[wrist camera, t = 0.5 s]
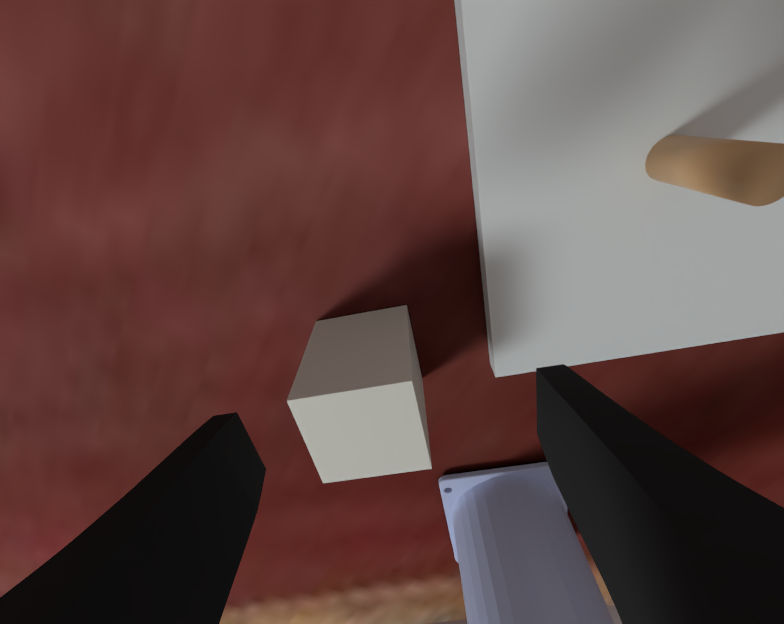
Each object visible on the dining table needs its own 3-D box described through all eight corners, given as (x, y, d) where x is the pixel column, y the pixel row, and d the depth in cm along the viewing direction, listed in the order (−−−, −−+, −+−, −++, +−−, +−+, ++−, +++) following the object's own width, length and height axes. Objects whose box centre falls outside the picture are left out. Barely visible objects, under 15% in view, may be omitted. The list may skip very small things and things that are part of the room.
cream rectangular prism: (422, 378, 20) (431, 468, 15) (340, 391, 21) (323, 483, 16) (406, 304, 18) (412, 380, 13) (316, 321, 19) (286, 400, 13)
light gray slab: (775, 317, 18) (911, 390, 14) (490, 363, 20) (521, 445, 15) (960, -256, 10) (1491, -598, 5) (443, -107, 11) (481, -268, 7)
